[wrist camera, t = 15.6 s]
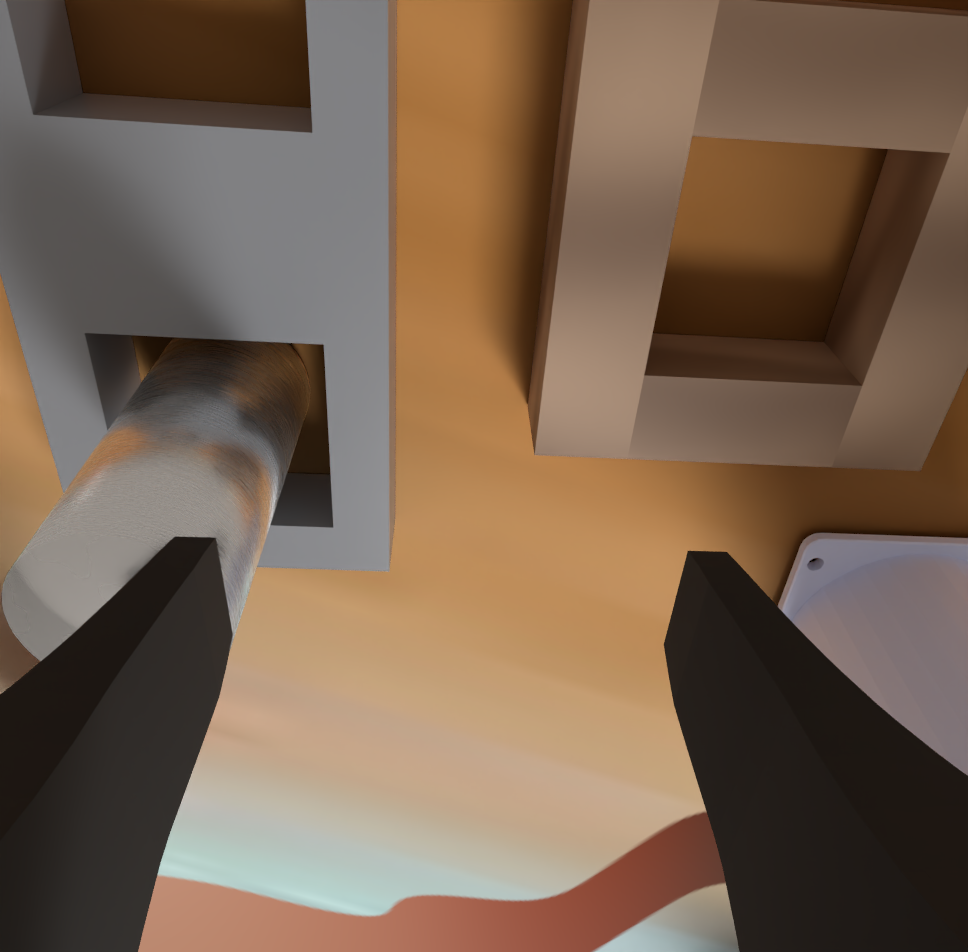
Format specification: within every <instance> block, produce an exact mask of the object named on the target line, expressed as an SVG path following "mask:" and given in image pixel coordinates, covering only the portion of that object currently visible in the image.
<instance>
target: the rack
mask: <svg viewBox="0 0 968 952" xmlns="http://www.w3.org/2000/svg"><path fill="white" fill-rule="evenodd" d="M306 19H307V38H308V57H309V76H310V95H311V108H303V107H288V106H273V105H258V104H242V103H227V102H212V101H197V100H182V99H166V98H151V97H136V96H121V95H106V94H90V93H83V91H82V86H81V81H80V76H79V71H78V66H77V61H76V56H75V51H74V46H73V41H72V36H71V31H70V26H69V21H68V16H67V11H66V6H65V1H64V0H0V274H1V277H2V281H3V284H4V288H5V291H6V295H7V298H8V302H9V305H10V309H11V312H12V316H13V319H14V322H15V326H16V329H17V333H18V336H19V340H20V343H21V347H22V350H23V354H24V357H25V361H26V364H27V368H28V371H29V375H30V378H31V381H32V385H33V388H34V392H35V395H36V399H37V402H38V406H39V409H40V413H41V416H42V420H43V423H44V427H45V430H46V434H47V437H48V440H49V444H50V447H51V451H52V454H53V458H54V461H55V465H56V468H57V472H58V475H59V479H60V482H61V486H62V489H63V493H64V492H65V491H66V489H67V488H68V486H69V485H70V483H71V482H72V481H73V479H74V478H75V476H76V475H77V473H78V472H79V471H80V469H81V468H82V466H83V465H84V464H85V462H86V461H87V459H88V458H89V456H90V455H91V454H92V452H93V451H94V449H95V448H96V446H97V445H98V444H99V442H100V441H101V439H102V438H103V437H104V435H105V434H106V432H107V431H108V429H109V428H110V427H111V425H112V424H113V422H114V421H115V419H116V418H117V417H118V415H119V414H120V412H121V411H122V410H123V408H124V407H125V405H126V404H127V402H128V401H129V400H130V398H131V397H132V395H133V394H134V392H135V391H136V390H137V388H138V387H139V385H140V384H141V380H140V375H139V370H138V365H137V360H136V355H135V350H134V345H133V340H132V335H138V336H158V337H179V338H199V339H219V340H240V341H260V342H281V343H301V344H322V345H324V359H325V378H326V397H327V416H328V434H329V453H330V472H331V475H327V474H302V473H287V475H286V478H285V481H284V484H283V487H282V490H281V494H280V497H279V500H278V503H277V506H276V509H275V512H274V515H273V518H272V521H271V525H270V528H269V531H268V534H267V537H266V540H265V543H264V546H263V549H262V552H261V556H260V559H259V562H258V565H257V567H270V568H300V569H331V570H361V571H389V570H390V561H391V552H392V543H393V533H394V524H395V444H396V108H397V0H306Z"/></svg>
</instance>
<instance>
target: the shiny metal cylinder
mask: <svg viewBox="0 0 968 952" xmlns="http://www.w3.org/2000/svg"><path fill="white" fill-rule="evenodd" d="M310 392H311V391H310V382H309V377H308V374H307V371H306V369H305V366H304V364H303V362H302V360H301V359H300V357H299V356H298V354H297V353H296V352H295V350H294V349H293V348H292V347H291V346H290V345H289V344H288V343H281V342H260V341H240V340H219V339H199V338H179V337H174V338H173V339H172V340H171V341H170V343H169V344H168V346H167V347H166V348H165V350H164V351H163V353H162V354H161V356H160V357H159V358H158V360H157V361H156V363H155V364H154V365H153V367H152V368H151V370H150V371H149V373H148V374H147V375H146V377H145V378H144V380H143V381H142V383H141V384H140V385H139V387H138V388H137V390H136V391H135V392H134V394H133V395H132V397H131V398H130V400H129V401H128V402H127V404H126V405H125V407H124V408H123V410H122V411H121V412H120V414H119V415H118V417H117V418H116V419H115V421H114V422H113V424H112V425H111V427H110V428H109V429H108V431H107V432H106V434H105V435H104V437H103V438H102V439H101V441H100V442H99V444H98V445H97V446H96V448H95V449H94V451H93V452H92V454H91V455H90V456H89V458H88V459H87V461H86V462H85V464H84V465H83V466H82V468H81V469H80V471H79V472H78V473H77V475H76V476H75V478H74V479H73V481H72V482H71V483H70V485H69V486H68V488H67V489H66V491H65V492H64V493H63V495H62V496H61V498H60V499H59V500H58V502H57V503H56V505H55V506H54V508H53V509H52V510H51V512H50V513H49V515H48V516H47V518H46V519H45V520H44V522H43V523H42V525H41V526H40V527H39V529H38V530H37V532H36V533H35V535H34V536H33V537H32V539H31V540H30V542H29V543H28V545H27V546H26V547H25V549H24V550H23V552H22V553H21V554H20V556H19V557H18V559H17V560H16V562H15V563H14V564H13V566H12V567H11V569H10V571H9V572H8V574H7V576H6V578H5V581H4V583H3V589H2V606H3V611H4V615H5V617H6V620H7V622H8V625H9V627H10V628H11V630H12V631H13V633H14V635H15V636H16V637H17V639H18V640H19V641H20V642H21V644H22V645H23V646H24V647H25V648H26V649H27V650H28V651H29V652H30V653H31V654H32V655H33V656H35V657H36V658H37V659H38V660H40V661H42V660H43V659H44V658H45V657H46V656H48V655H49V654H50V653H51V652H52V651H53V650H55V649H56V648H57V647H58V646H59V645H61V644H62V643H63V642H64V641H65V640H66V639H67V638H69V637H70V636H71V635H72V634H73V633H74V632H75V631H76V630H77V629H78V628H79V627H81V626H82V625H83V624H84V623H85V622H86V621H87V620H88V619H89V618H90V617H91V616H92V615H93V614H94V613H96V612H97V611H98V610H99V609H100V608H101V607H102V606H103V605H104V604H105V603H106V602H107V601H108V600H110V599H111V598H112V597H113V596H114V595H115V594H116V593H117V592H118V591H119V590H120V589H121V588H122V587H123V586H124V585H125V584H126V583H127V582H128V581H129V580H130V579H131V578H132V577H133V576H134V575H135V574H136V573H137V572H138V571H139V570H140V569H141V568H142V567H143V566H144V565H145V564H146V563H147V562H148V561H149V560H150V559H151V558H153V557H154V556H155V555H156V554H157V553H158V552H159V551H160V550H161V549H162V548H163V547H164V546H165V545H166V544H167V543H168V542H169V541H170V540H172V539H173V538H174V537H175V536H179V537H214V538H216V541H217V547H218V552H219V558H220V564H221V570H222V575H223V581H224V587H225V592H226V598H227V604H228V610H229V615H230V621H231V627H232V633H233V637H232V642H233V639H234V636H235V633H236V630H237V627H238V624H239V621H240V618H241V614H242V611H243V608H244V605H245V602H246V599H247V596H248V593H249V590H250V587H251V583H252V580H253V577H254V574H255V571H256V568H257V565H258V562H259V559H260V556H261V552H262V549H263V546H264V543H265V540H266V537H267V534H268V531H269V528H270V525H271V521H272V518H273V515H274V512H275V509H276V506H277V503H278V500H279V497H280V494H281V490H282V487H283V484H284V481H285V478H286V475H287V472H288V469H289V466H290V463H291V459H292V456H293V453H294V450H295V447H296V444H297V441H298V438H299V435H300V432H301V428H302V425H303V422H304V419H305V416H306V413H307V410H308V407H309V402H310ZM232 642H231V645H232ZM230 648H231V646H230Z"/></svg>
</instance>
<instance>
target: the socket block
mask: <svg viewBox="0 0 968 952" xmlns="http://www.w3.org/2000/svg"><path fill="white" fill-rule="evenodd" d="M692 136H698V137H713V138H728V139H744V140H759V141H774V142H789V143H805V144H820V145H835V146H850V147H866V148H881V149H888V152H887V155H886V158H885V161H884V164H883V167H882V170H881V173H880V176H879V179H878V182H877V185H876V188H875V191H874V194H873V197H872V200H871V203H870V206H869V209H868V211H867V214H866V217H865V220H864V223H863V226H862V229H861V232H860V235H859V238H858V241H857V244H856V247H855V250H854V253H853V256H852V259H851V262H850V265H849V268H848V271H847V274H846V277H845V280H844V283H843V286H842V289H841V292H840V295H839V298H838V301H837V304H836V307H835V310H834V313H833V316H832V319H831V322H830V325H829V328H828V331H827V334H826V337H825V340H824V342H815V341H796V340H776V339H757V338H737V337H717V336H698V335H678V334H658V333H653V329H654V324H655V319H656V314H657V309H658V304H659V299H660V294H661V289H662V284H663V279H664V274H665V269H666V264H667V259H668V254H669V249H670V244H671V239H672V234H673V229H674V224H675V219H676V214H677V209H678V204H679V199H680V194H681V189H682V184H683V179H684V174H685V169H686V164H687V159H688V154H689V149H690V144H691V139H692ZM967 368H968V10H955V9H942V8H929V7H916V6H903V5H890V4H877V3H864V2H851V1H837V0H573V2H572V11H571V20H570V29H569V38H568V47H567V56H566V65H565V75H564V84H563V93H562V102H561V111H560V120H559V129H558V138H557V147H556V156H555V165H554V174H553V183H552V192H551V201H550V210H549V219H548V228H547V237H546V246H545V255H544V264H543V273H542V282H541V291H540V300H539V309H538V318H537V327H536V336H535V345H534V354H533V363H532V373H531V382H530V391H529V400H528V412H529V419H530V426H531V433H532V440H533V447H534V454H535V455H545V456H569V457H593V458H617V459H641V460H665V461H689V462H713V463H737V464H761V465H785V466H810V467H834V468H858V469H882V470H906V471H921V469H922V467H923V465H924V462H925V460H926V458H927V456H928V454H929V451H930V449H931V447H932V445H933V443H934V440H935V438H936V436H937V434H938V432H939V429H940V427H941V425H942V423H943V421H944V418H945V416H946V414H947V412H948V410H949V407H950V405H951V403H952V401H953V399H954V396H955V394H956V392H957V390H958V388H959V385H960V383H961V381H962V379H963V377H964V374H965V372H966V370H967Z"/></svg>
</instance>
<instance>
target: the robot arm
mask: <svg viewBox="0 0 968 952" xmlns="http://www.w3.org/2000/svg"><path fill="white" fill-rule="evenodd" d="M814 558H818V559H817V560H815V561H813V562H809V561H810V560H812V559H814ZM808 562H809V563H808ZM232 637H233V633H232V627H231V621H230V615H229V610H228V604H227V598H226V592H225V587H224V581H223V575H222V570H221V564H220V558H219V552H218V547H217V541H216V538H214V537H179V536H175V537H174V538H173V539H172V540H170V541H169V542H168V543H167V544H166V545H165V546H164V547H163V548H162V549H161V550H160V551H159V552H158V553H157V554H156V555H155V556H154V557H153V558H151V559H150V560H149V561H148V562H147V563H146V564H145V565H144V566H143V567H142V568H141V569H140V570H139V571H138V572H137V573H136V574H135V575H134V576H133V577H132V578H131V579H130V580H129V581H128V582H127V583H126V584H125V585H124V586H123V587H122V588H121V589H120V590H119V591H118V592H117V593H116V594H115V595H114V596H113V597H112V598H111V599H110V600H108V601H107V602H106V603H105V604H104V605H103V606H102V607H101V608H100V609H99V610H98V611H97V612H96V613H94V614H93V615H92V616H91V617H90V618H89V619H88V620H87V621H86V622H85V623H84V624H83V625H82V626H81V627H79V628H78V629H77V630H76V631H75V632H74V633H73V634H72V635H71V636H70V637H69V638H67V639H66V640H65V641H64V642H63V643H62V644H61V645H59V646H58V647H57V648H56V649H55V650H53V651H52V652H51V653H50V654H49V655H48V656H46V657H45V658H44V659H43V660H42V661H41V662H39V663H38V664H37V665H36V666H35V667H34V668H32V669H31V670H30V671H29V672H28V673H26V674H25V675H24V676H23V677H22V678H21V679H19V680H18V681H17V682H16V683H14V684H13V685H12V686H11V687H9V688H8V689H7V690H6V691H4V692H3V693H2V694H0V952H138V949H139V945H140V940H141V936H142V932H143V928H144V924H145V920H146V916H147V912H148V908H149V904H150V901H151V897H152V893H153V889H154V885H155V881H156V878H157V874H158V870H159V866H160V862H161V859H162V856H163V853H164V850H165V847H166V843H167V840H168V837H169V834H170V831H171V828H172V826H173V823H174V820H175V817H176V815H177V812H178V809H179V806H180V804H181V801H182V798H183V795H184V793H185V790H186V787H187V784H188V782H189V779H190V776H191V774H192V771H193V768H194V765H195V763H196V760H197V757H198V754H199V752H200V749H201V746H202V743H203V741H204V738H205V735H206V732H207V729H208V727H209V724H210V721H211V718H212V715H213V713H214V710H215V707H216V704H217V701H218V698H219V695H220V691H221V687H222V682H223V678H224V674H225V670H226V665H227V660H228V656H229V651H230V646H231V642H232ZM664 648H665V655H666V661H667V667H668V674H669V680H670V685H671V690H672V696H673V701H674V706H675V709H676V713H677V716H678V720H679V723H680V726H681V730H682V733H683V736H684V740H685V743H686V746H687V749H688V753H689V756H690V759H691V762H692V766H693V769H694V772H695V775H696V779H697V782H698V785H699V788H700V791H701V795H702V798H703V801H704V804H705V808H706V811H707V814H708V817H709V820H710V824H711V827H712V830H713V833H714V837H715V840H716V844H717V848H718V851H719V855H720V859H721V862H722V866H723V871H724V876H725V881H726V886H727V890H728V895H729V900H730V905H731V910H732V915H733V920H734V925H735V930H736V935H737V940H738V946H739V951H740V952H968V538H951V537H924V536H897V535H869V534H842V533H815V534H812V535H810V536H808V537H807V538H805V539H804V540H803V542H802V543H801V545H800V548H799V551H798V553H797V556H796V559H795V561H794V564H793V567H792V569H791V572H790V575H789V577H788V580H787V583H786V585H785V588H784V591H783V593H782V596H781V599H780V601H779V604H778V607H777V605H776V604H775V603H774V602H773V601H772V600H771V599H770V598H769V597H768V596H767V595H766V594H765V593H764V591H763V590H762V589H761V588H760V587H759V586H758V585H757V584H756V583H755V582H754V581H753V579H752V578H751V577H750V576H749V575H748V574H747V573H746V572H745V571H744V570H743V569H742V567H741V566H740V565H739V564H738V563H737V562H736V561H735V560H734V559H733V558H732V557H731V556H730V555H729V554H728V553H727V552H708V551H688V553H687V557H686V561H685V565H684V568H683V572H682V576H681V580H680V584H679V588H678V592H677V596H676V600H675V603H674V607H673V611H672V615H671V619H670V623H669V627H668V631H667V634H666V638H665V642H664Z"/></svg>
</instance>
